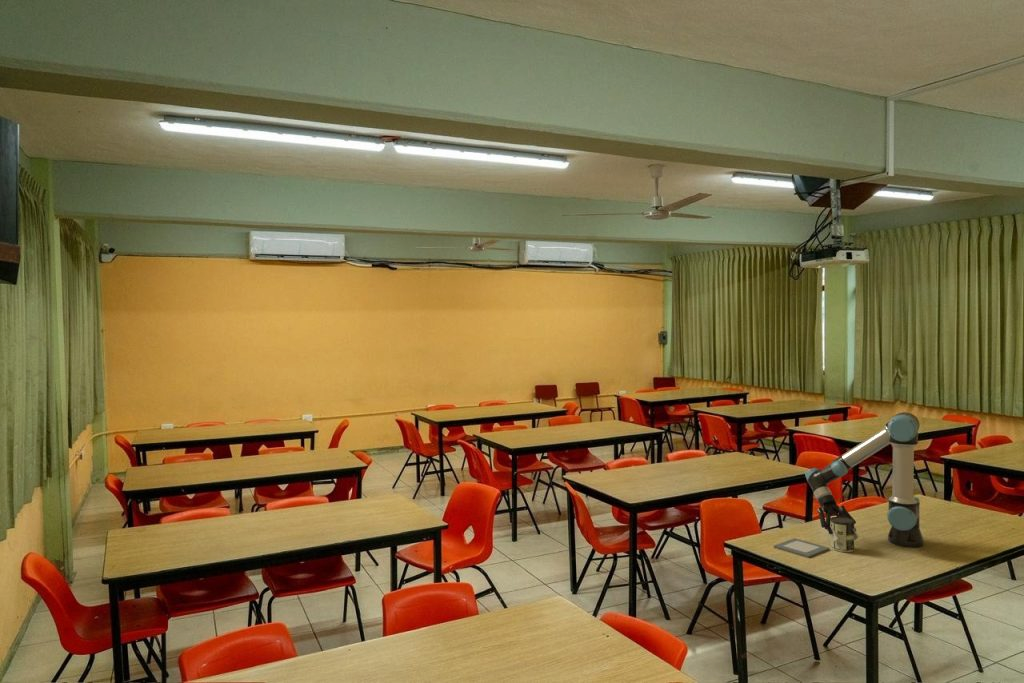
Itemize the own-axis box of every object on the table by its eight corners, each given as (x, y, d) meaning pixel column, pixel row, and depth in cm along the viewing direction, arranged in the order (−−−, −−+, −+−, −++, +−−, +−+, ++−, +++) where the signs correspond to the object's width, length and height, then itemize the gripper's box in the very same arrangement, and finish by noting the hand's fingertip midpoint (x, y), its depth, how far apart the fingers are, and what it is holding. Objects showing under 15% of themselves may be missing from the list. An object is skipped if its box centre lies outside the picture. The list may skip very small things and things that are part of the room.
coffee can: (850, 545, 322) (850, 516, 322) (857, 552, 312) (857, 523, 312) (827, 544, 324) (827, 516, 324) (833, 551, 314) (833, 522, 314)
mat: (829, 549, 317) (829, 547, 317) (808, 558, 307) (808, 555, 307) (794, 540, 332) (794, 537, 332) (773, 547, 321) (773, 545, 321)
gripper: (841, 500, 335) (863, 541, 320) (801, 503, 331) (821, 544, 316) (848, 492, 330) (871, 533, 314) (807, 495, 325) (828, 537, 310)
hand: (846, 539), depth 315 cm, fingers closed on coffee can, 10 cm apart
